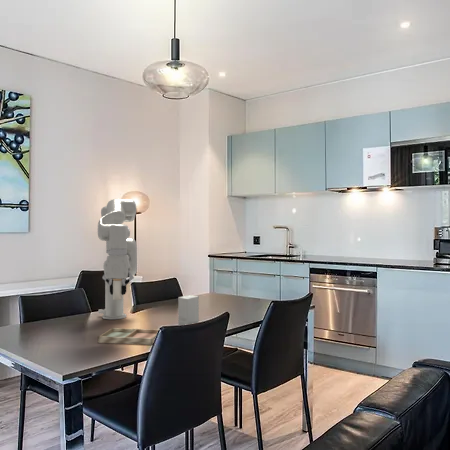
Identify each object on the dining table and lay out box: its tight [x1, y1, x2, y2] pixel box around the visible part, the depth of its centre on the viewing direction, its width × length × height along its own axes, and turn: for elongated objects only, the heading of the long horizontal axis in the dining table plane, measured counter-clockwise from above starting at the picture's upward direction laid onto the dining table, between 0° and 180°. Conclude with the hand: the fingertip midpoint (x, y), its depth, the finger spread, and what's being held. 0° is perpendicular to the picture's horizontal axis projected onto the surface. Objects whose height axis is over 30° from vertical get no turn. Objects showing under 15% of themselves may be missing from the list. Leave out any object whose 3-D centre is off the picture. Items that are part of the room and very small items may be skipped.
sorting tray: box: [97, 327, 159, 346], centre depth 202 cm, size 24×16×2 cm, turn 82°
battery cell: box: [113, 279, 124, 300], centre depth 203 cm, size 4×4×11 cm
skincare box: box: [177, 294, 200, 326], centre depth 221 cm, size 8×7×16 cm
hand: (118, 293), depth 203 cm, fingers closed on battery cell, 4 cm apart
